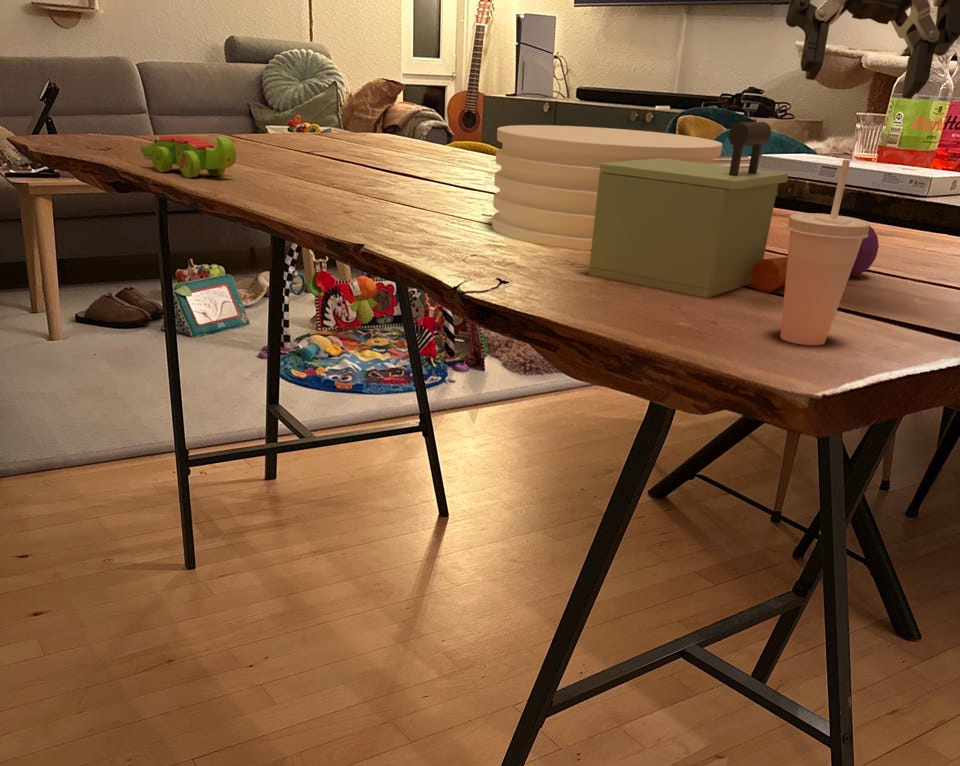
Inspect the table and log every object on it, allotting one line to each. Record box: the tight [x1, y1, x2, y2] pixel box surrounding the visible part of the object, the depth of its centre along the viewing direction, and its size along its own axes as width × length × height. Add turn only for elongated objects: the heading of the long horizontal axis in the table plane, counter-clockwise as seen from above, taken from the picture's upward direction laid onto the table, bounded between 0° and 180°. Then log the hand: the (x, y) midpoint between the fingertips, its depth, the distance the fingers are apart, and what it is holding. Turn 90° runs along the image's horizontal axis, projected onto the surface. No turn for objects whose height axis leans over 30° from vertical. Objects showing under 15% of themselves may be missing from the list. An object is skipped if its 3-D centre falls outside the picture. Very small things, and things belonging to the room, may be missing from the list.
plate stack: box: [491, 124, 723, 251], centre depth 123 cm, size 28×28×12 cm
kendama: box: [751, 226, 880, 294], centre depth 104 cm, size 6×6×20 cm
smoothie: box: [780, 159, 871, 346], centre depth 79 cm, size 6×6×14 cm
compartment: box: [588, 172, 779, 299], centre depth 100 cm, size 14×13×10 cm
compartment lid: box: [600, 121, 790, 190], centre depth 96 cm, size 15×13×5 cm
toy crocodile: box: [140, 135, 237, 179], centre depth 154 cm, size 20×7×6 cm, turn 50°
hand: (862, 84), depth 82 cm, fingers open, 8 cm apart
